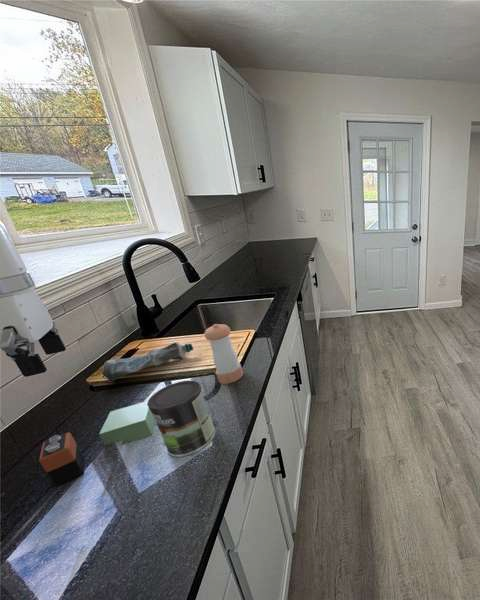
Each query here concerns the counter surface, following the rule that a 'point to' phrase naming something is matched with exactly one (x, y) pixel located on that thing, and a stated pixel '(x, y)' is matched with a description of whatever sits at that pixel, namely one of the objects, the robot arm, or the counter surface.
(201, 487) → the counter surface
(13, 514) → the counter surface
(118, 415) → the block
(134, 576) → the counter surface
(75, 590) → the counter surface
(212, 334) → the pepper shaker
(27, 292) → the robot arm
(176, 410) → the coffee can
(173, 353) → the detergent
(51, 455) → the battery
